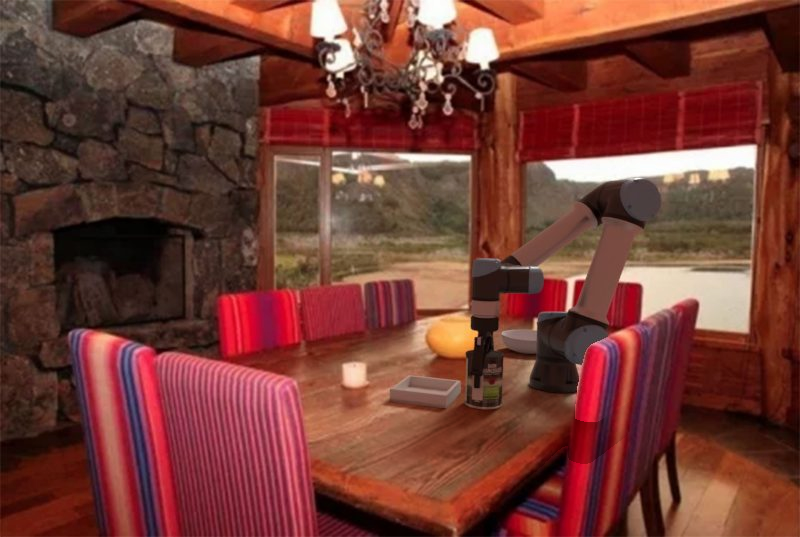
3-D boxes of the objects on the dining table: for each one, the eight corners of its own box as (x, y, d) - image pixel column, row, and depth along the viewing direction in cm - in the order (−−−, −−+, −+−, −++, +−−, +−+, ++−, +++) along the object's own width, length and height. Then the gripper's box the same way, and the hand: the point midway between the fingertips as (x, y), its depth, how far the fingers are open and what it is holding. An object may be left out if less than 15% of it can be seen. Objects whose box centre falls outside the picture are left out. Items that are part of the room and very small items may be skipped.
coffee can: (509, 408, 156) (510, 356, 155) (473, 411, 153) (474, 358, 152) (492, 397, 165) (493, 348, 164) (458, 399, 163) (459, 349, 162)
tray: (460, 392, 169) (460, 380, 169) (446, 408, 154) (446, 395, 154) (408, 386, 175) (408, 375, 174) (389, 401, 160) (389, 388, 159)
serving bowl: (496, 355, 220) (497, 337, 220) (505, 344, 240) (505, 328, 240) (553, 360, 214) (554, 341, 213) (557, 348, 233) (558, 331, 233)
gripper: (480, 308, 170) (478, 380, 172) (460, 321, 147) (458, 404, 149) (506, 310, 168) (503, 382, 169) (489, 323, 144) (487, 407, 146)
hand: (482, 392), depth 159 cm, fingers open, 13 cm apart
